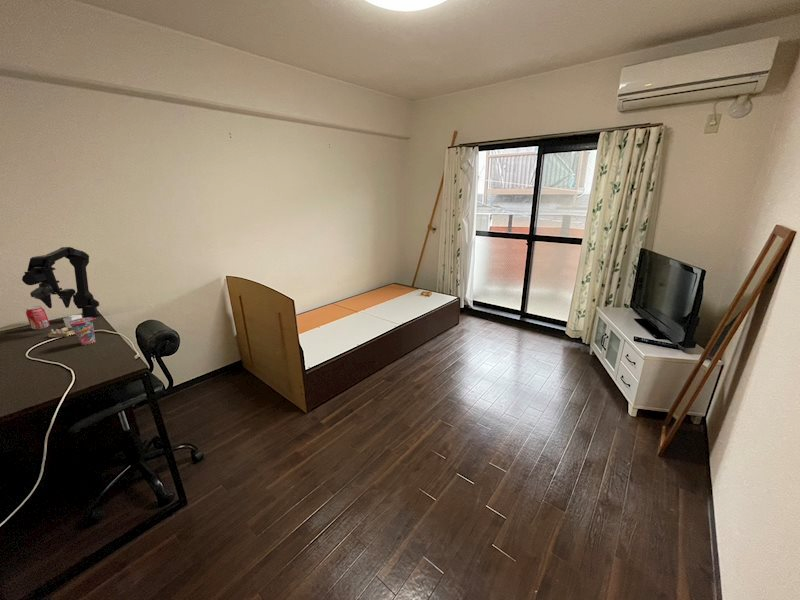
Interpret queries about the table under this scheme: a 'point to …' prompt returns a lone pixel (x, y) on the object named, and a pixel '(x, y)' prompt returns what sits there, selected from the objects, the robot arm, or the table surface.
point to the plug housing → (70, 318)
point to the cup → (84, 330)
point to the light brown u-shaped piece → (60, 332)
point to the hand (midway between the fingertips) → (59, 307)
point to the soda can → (37, 317)
